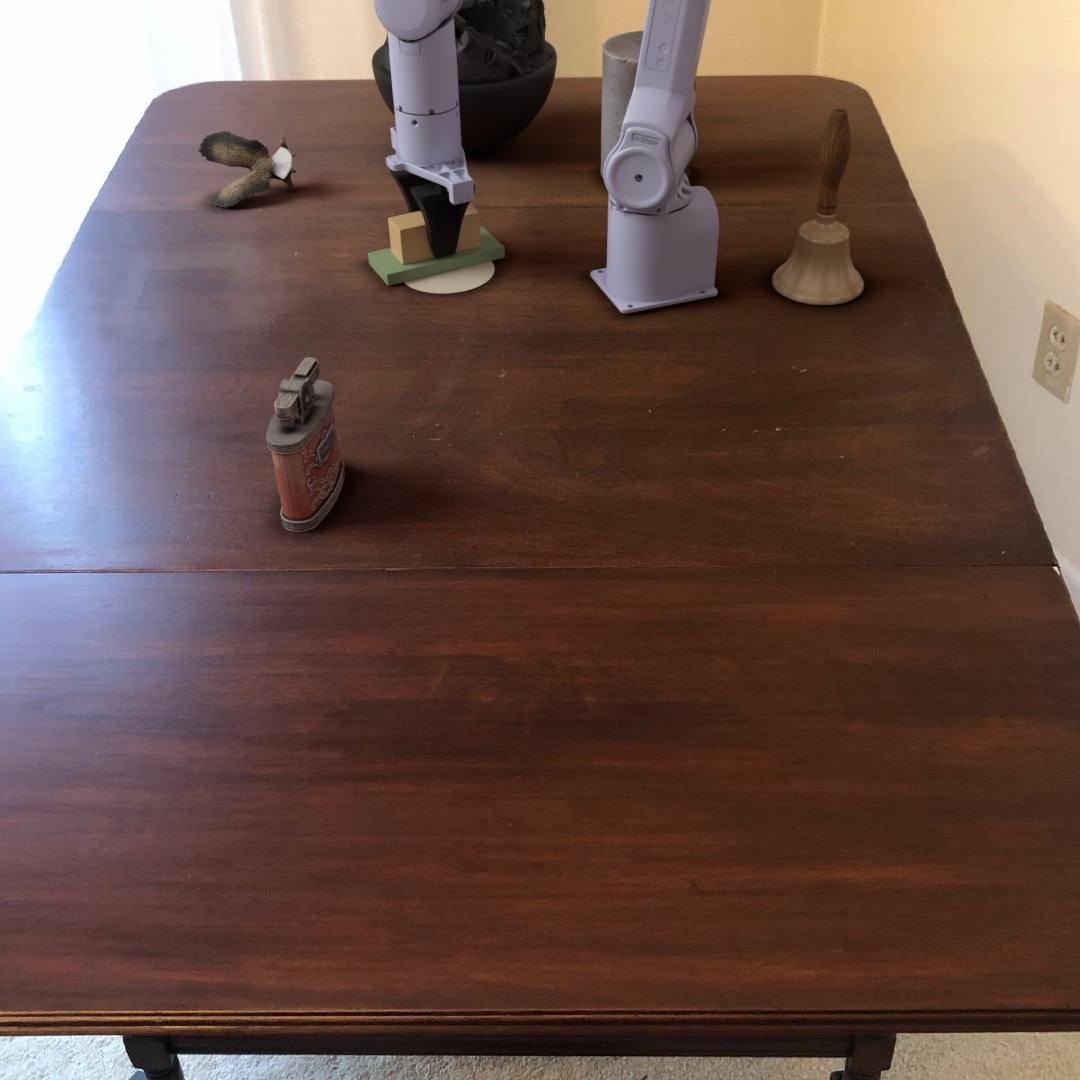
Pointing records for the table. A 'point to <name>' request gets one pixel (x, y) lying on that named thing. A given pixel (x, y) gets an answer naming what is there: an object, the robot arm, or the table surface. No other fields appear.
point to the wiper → (415, 255)
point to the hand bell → (824, 233)
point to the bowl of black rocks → (493, 69)
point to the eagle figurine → (246, 165)
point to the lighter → (305, 448)
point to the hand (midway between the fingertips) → (436, 246)
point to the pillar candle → (619, 87)
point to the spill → (455, 279)
